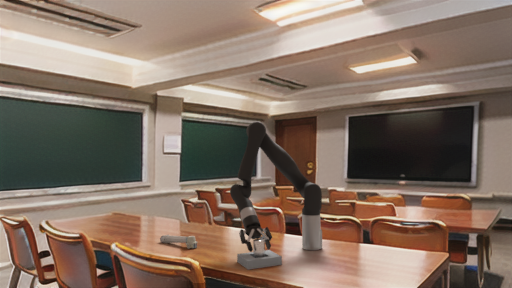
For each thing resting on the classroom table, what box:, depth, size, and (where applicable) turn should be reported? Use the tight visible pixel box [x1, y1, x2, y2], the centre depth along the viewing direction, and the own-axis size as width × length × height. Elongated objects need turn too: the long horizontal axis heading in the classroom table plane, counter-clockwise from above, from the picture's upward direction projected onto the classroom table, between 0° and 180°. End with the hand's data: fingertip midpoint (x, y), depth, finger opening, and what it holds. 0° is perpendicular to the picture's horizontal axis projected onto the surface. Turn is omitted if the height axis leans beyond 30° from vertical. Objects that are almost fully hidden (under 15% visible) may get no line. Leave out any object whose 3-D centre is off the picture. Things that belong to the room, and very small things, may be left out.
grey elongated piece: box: [159, 234, 198, 250], centre depth 188 cm, size 5×7×25 cm
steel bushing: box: [252, 238, 266, 258], centre depth 155 cm, size 5×5×10 cm
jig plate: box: [236, 249, 283, 270], centre depth 155 cm, size 16×12×4 cm
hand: (260, 249), depth 154 cm, fingers open, 8 cm apart
